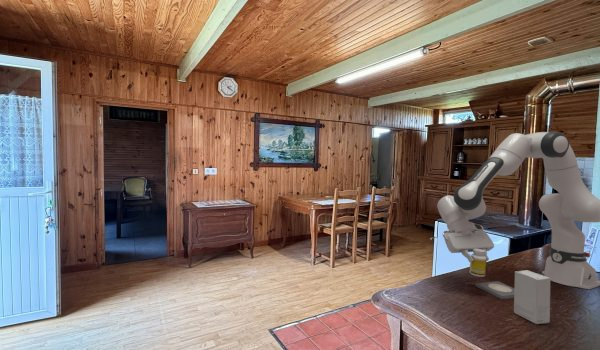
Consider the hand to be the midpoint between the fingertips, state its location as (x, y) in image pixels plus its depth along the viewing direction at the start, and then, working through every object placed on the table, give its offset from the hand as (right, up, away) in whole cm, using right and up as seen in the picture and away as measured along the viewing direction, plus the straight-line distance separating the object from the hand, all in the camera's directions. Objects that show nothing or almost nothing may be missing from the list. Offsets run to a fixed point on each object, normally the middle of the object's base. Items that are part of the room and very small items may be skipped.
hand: (479, 261), depth 118 cm
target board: (+11, -13, +4) cm, 18 cm away
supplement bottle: (0, -6, +1) cm, 6 cm away
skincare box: (+7, -15, -16) cm, 23 cm away
